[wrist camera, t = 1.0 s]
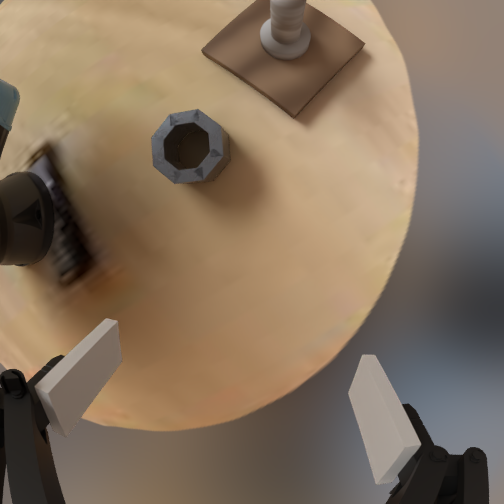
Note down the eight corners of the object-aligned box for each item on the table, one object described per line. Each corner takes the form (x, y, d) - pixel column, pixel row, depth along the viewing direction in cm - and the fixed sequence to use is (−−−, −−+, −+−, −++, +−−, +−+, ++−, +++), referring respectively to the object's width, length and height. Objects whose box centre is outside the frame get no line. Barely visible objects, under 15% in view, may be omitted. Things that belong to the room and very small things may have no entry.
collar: (156, 157, 32) (139, 154, 28) (195, 109, 31) (182, 98, 26) (201, 195, 33) (190, 196, 28) (242, 145, 31) (237, 139, 27)
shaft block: (203, 55, 29) (176, 8, 18) (275, -9, 26) (274, -62, 15) (293, 118, 30) (304, 86, 19) (362, 48, 27) (392, 3, 16)
